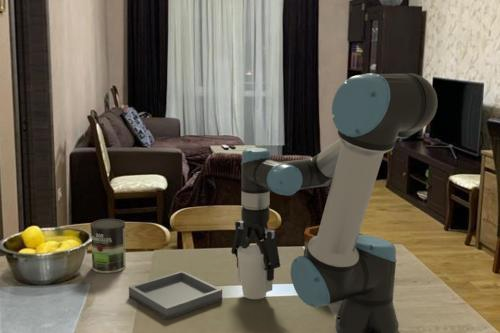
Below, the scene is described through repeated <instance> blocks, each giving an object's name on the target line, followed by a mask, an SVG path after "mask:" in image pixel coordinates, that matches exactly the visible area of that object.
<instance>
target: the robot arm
mask: <svg viewBox="0 0 500 333" xmlns="http://www.w3.org/2000/svg"><path fill="white" fill-rule="evenodd" d="M437 96H438V95H437V92H436V89H435V88H434V87H433V85H432V84H431V82H429V80H427V79H426V78H425V77H423V76H421V75H419V74H417V73H416V74H415V73H411V72H410V73H409V72H407V73H406V72H405V73H371V72H368V73H363V74H357V75H354V76H351V77H349V78H347V79H345V81H343V82H342V83H341V84H340V86H339V87H338V88H337V90H336V92H335V94H334V97H333V99H332V104H331V114H332V115H333V118H332V122H333V124H334V126H335V127H336V129H337V134H336V135H337V136H338V139H337V140H336V141H334V142H333V143H331V144H330V145H328V146H327V147H326V148H324V149H323V150H322V151H321V152H319V153H318V154H316V155H314V156H313V157H310V158H304V159H294V160H293V159H292V160H285V161H277V160H272V156H271V151H270V150H269V149H268V148H265V147H264V148H263V147H249V148H248V147H247V148H245V149H244V150H243V151H242V153H241V163H240V165H241V168H240V169H241V174H240V175H241V198H240V199H241V203H240V204H241V214H240V216H241V218H240V219H241V220H239V221H238V220H237V221H235V222H234V224H235V225H234V226H235V227H234V228H235V231H234V237H233V241H232V247H231V251H230V252H231V254H232V255H235V258H236V268H237V282H241V275H240V267H239V259H238V248H239V247H240V246H242V248H247V247H249V245H250V244H252V241H254V242H255V244H257V245H258V246H259V249H260V252H261V254H263V261H264V264H265V267H266V268H264V269H263V292H264V293H266V292H267V293H269V292H271V291H273V281H274V279H275V276H274V275H275V269H278V268H280V267H281V261H280V255H279V250H278V244H277V230H275V229H274V230H271V229H269V227H268V222H269V221H270V207H269V206H270V197H271V196H270V193H271V192H273V193H275V194H278V195H280V196H281V195H282V196H283V195H284V196H293V195H294V194H295V193H297V192H298V191H299V190H305V189H310V188H311V189H312V188H319V187H327V186H330V187H329V190H328V195H327V199H326V203H325V206H324V210H323V213H322V216H321V217H322V218H321V221H320V224H319V225H320V228H319V231H318V235H317V236H315V237H313V238H312V239H310V241H309V242H308V246H307V250H306V253H305V255H304V254H303V255H298V256H297V257H295V258H294V259H293V260H292V262H291V265H290V279H291V283H292V285H293V288H294V291H295V293H296V294H297V295H298V298H299V299H301V301H302V302H303V303H304V304H306V305H307V306H309V307H313V308H317V307H323V306H324V307H327V306H329V305H331V304H334V303H338V302H341V301H342V302H341V304H340V306H339V308H338V312H337V314H336V316H335V330H336V331H337V333H399V327H400V326H399V321H398V317H397V313H396V310H395V305H394V291H395V278H396V276H395V275H396V266H397V265H396V264H397V258H396V257H397V249H396V247H395V245H394V244H393V243H392V242H391V241H389V240H386V239H384V238H381V237H376V236H372V235H367V234H366V235H364V234H362V235H359V234H361V233H360V232H361V229H362V226H363V223H364V219H365V216H366V213H367V210H368V207H369V203H370V200H371V196H372V193H373V191H374V187H375V183H376V180H377V177H378V174H379V170H380V167H381V164H382V161H383V158H384V154H386V153H388V152H390V151H392V150H393V149H394V148H395V145H396V142H397V139H399V138H400V139H407V138H409V137H411V136H413V135H414V134H416V133H417V132H419V131H420V130H422V129H423V128H425V127H426V126H427V125H429V124H430V123H431V121H433V119H434V117H435V115H436V113H437V109H438V97H437ZM269 263H270V264H269ZM241 283H242V282H241ZM267 293H266V294H267Z"/></svg>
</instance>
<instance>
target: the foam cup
mask: <svg viewBox="0 0 500 333" xmlns="http://www.w3.org/2000/svg"><path fill="white" fill-rule="evenodd" d="M238 259H239V267H240V275H241V287H242V288H241V289H242V295H243V297H245V298H246V299H250V300H260V299H264V298H265V297H266V296H267V293H268V292H266V293H264V292H263V269H264V268H266V267H265V264H264V261H263V254H261V252H260V249H259V246H258V245H257V244H256V243H250V245H249V247H247V248H242V246H240V247H239V248H238ZM269 264H270V263H269Z"/></svg>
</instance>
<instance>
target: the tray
mask: <svg viewBox="0 0 500 333" xmlns="http://www.w3.org/2000/svg"><path fill="white" fill-rule="evenodd" d="M128 297H129V298H130V299H131V300H133V301H134V302H136V303H138V304H140V305H141V306H143V307H144V308H147V309H149V311H152V312H153V313H155V314H156V315H158V316H160V317H162V318H163V319H165V320H171V319H173V318H176V317H179V316H181V315H185V314H187V313H189V312H193V311H195V310H198V309H201V308H203V307H206V306H209V305H212V304H214V303H215V304H216V303H218V302H221V301H223V289H221V288H220V287H217V286H215V285H213V284H211V283H209V282H207V281H205V280H203V279H201V278H199V277H196V275H195V276H194V275H193V274H191V273H189V272H186V271H184V270H180V271H176V272H174V273H170V274H167V275H164V276H160V277H157V278H153V279H150V280H147V281H146V280H145V281H144V282H139V283H137V284H133V285H130V286H128Z"/></svg>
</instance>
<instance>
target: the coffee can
mask: <svg viewBox="0 0 500 333" xmlns="http://www.w3.org/2000/svg"><path fill="white" fill-rule="evenodd" d="M90 229H91V230H90V236H91V237H92V239H93V240H92V242H91V264H92V266H91V268H92V270H93V271H94V272H96V273H99V274H101V273H102V274H115V273H117V272H121V271H124V270H125V269H126V268H127V263H126V260H127V259H126V222H125V220H122V219H118V218H103V219H97V220H94V221H92V222H91V223H90Z"/></svg>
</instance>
